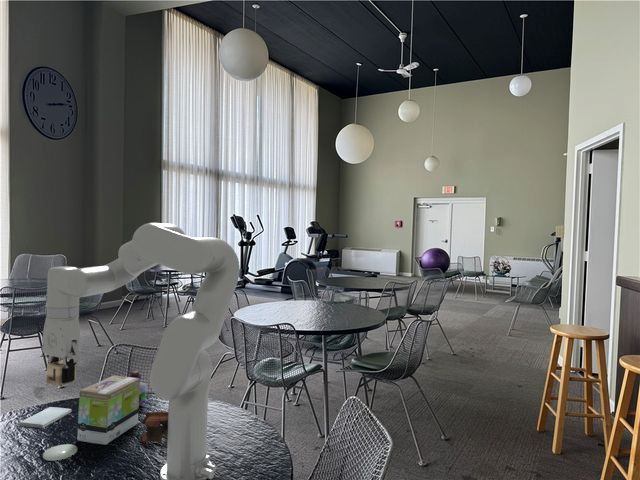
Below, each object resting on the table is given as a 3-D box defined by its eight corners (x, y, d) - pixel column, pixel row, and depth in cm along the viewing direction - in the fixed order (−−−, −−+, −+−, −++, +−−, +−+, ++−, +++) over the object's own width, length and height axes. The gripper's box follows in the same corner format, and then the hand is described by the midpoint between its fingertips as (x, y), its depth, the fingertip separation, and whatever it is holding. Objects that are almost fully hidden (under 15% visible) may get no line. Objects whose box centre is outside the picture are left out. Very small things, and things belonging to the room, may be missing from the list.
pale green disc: (83, 450, 122) (83, 449, 122) (54, 463, 114) (54, 462, 114) (65, 443, 125) (65, 441, 125) (36, 455, 118) (36, 453, 118)
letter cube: (57, 386, 116) (57, 366, 116) (46, 382, 118) (46, 363, 118) (76, 380, 121) (76, 362, 120) (64, 377, 123) (65, 359, 123)
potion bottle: (143, 410, 149) (144, 375, 149) (116, 411, 148) (117, 375, 148) (150, 400, 158) (150, 367, 157) (124, 401, 157) (125, 367, 156)
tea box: (107, 446, 125) (108, 393, 125) (76, 441, 127) (77, 390, 126) (139, 423, 140) (140, 376, 139) (111, 419, 142) (112, 373, 141)
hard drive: (43, 424, 134) (71, 408, 147) (18, 422, 135) (49, 406, 148) (42, 430, 134) (71, 413, 147) (18, 427, 136) (49, 411, 148)
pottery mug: (131, 443, 128) (135, 412, 132) (153, 445, 136) (157, 416, 140) (165, 439, 124) (168, 408, 128) (186, 442, 132) (189, 412, 136)
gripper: (30, 311, 120) (28, 378, 120) (69, 318, 112) (67, 390, 112) (57, 307, 126) (56, 370, 127) (96, 314, 119) (94, 381, 119)
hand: (61, 379), depth 119 cm, fingers closed on letter cube, 5 cm apart
